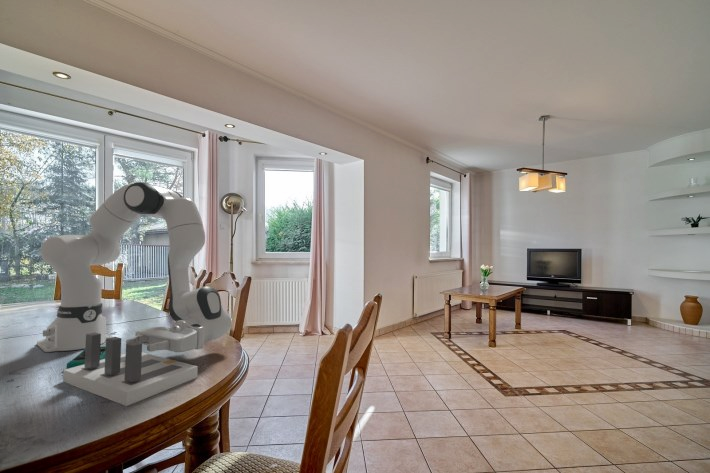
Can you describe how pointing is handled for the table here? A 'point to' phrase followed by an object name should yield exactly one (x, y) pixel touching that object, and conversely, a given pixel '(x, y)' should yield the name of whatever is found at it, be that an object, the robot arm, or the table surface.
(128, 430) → the table surface
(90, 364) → the handle
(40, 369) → the table surface
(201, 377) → the table surface
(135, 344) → the handle
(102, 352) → the digital multimeter
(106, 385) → the box
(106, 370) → the post
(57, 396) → the table surface
